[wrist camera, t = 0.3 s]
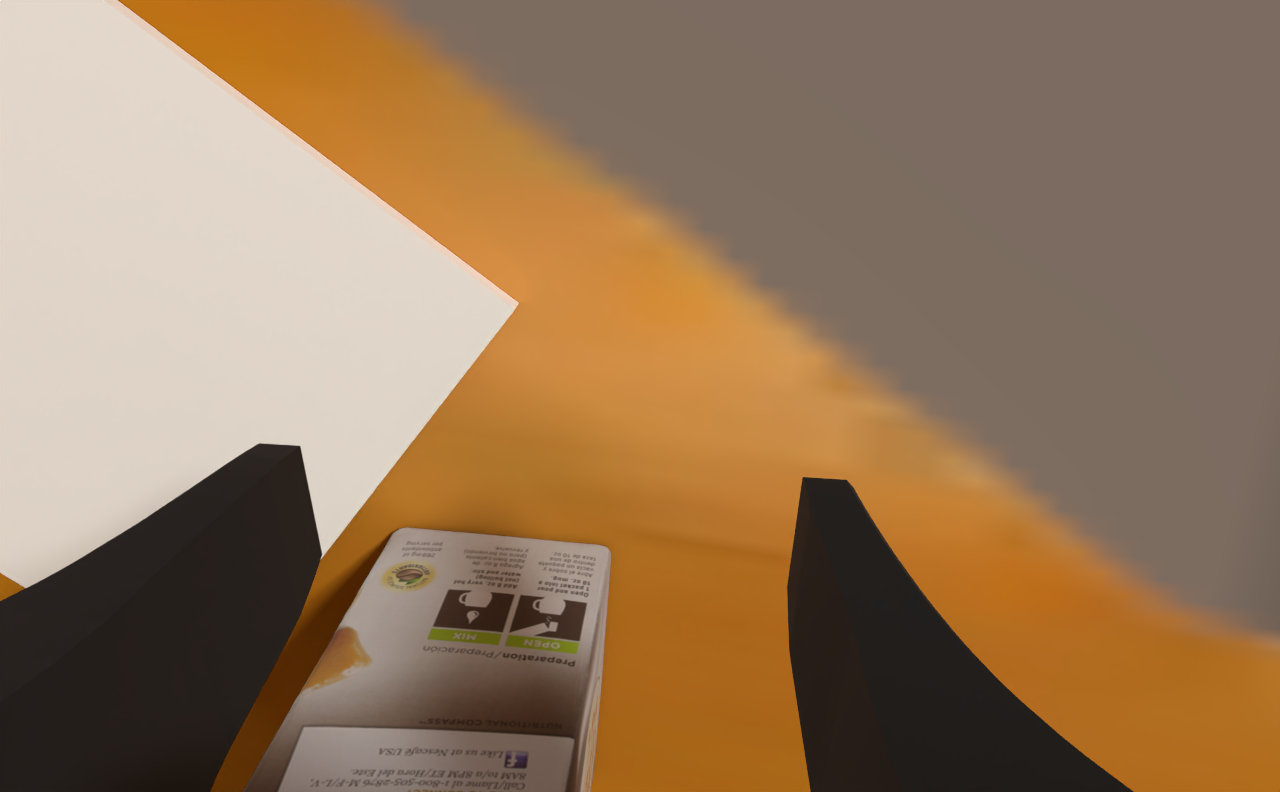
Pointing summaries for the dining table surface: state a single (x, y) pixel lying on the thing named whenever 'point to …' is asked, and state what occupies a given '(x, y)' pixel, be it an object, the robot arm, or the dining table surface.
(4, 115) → the mat
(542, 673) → the coffee box
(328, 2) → the dining table surface
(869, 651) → the robot arm
